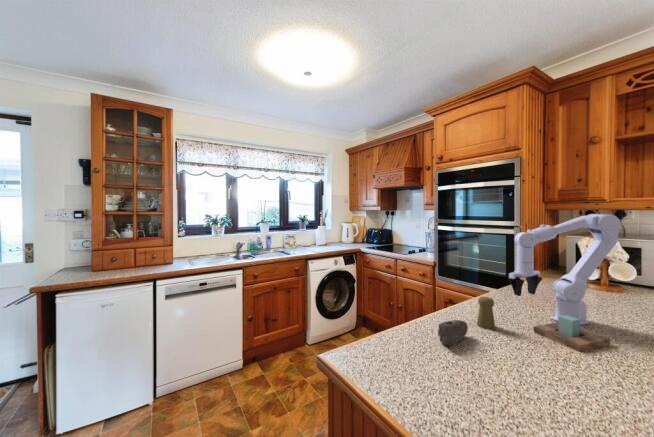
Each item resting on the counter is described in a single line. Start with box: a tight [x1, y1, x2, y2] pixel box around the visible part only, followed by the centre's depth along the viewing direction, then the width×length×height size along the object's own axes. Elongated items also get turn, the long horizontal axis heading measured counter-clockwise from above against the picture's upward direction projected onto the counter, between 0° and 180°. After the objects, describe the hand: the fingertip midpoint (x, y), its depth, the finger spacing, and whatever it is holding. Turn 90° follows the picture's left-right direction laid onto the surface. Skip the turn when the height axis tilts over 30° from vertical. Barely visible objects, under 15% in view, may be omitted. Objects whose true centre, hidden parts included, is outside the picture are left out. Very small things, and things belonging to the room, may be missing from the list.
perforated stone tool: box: [437, 319, 469, 346], centre depth 90 cm, size 15×5×7 cm, turn 120°
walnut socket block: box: [533, 321, 611, 353], centre depth 90 cm, size 14×14×2 cm
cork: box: [476, 296, 496, 330], centre depth 101 cm, size 6×6×11 cm
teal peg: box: [557, 315, 581, 338], centre depth 91 cm, size 4×4×7 cm
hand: (524, 294), depth 108 cm, fingers open, 7 cm apart
